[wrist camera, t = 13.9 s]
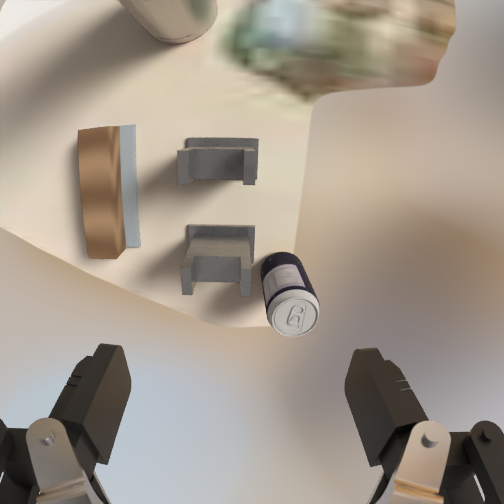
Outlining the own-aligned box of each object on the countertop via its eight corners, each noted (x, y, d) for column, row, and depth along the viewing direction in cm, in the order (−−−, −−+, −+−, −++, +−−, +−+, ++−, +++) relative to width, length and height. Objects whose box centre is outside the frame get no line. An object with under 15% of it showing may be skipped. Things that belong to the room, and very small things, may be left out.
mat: (81, 130, 33) (79, 130, 33) (135, 124, 34) (134, 124, 33) (89, 244, 39) (87, 246, 39) (140, 245, 40) (139, 247, 39)
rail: (92, 129, 33) (78, 130, 29) (120, 126, 33) (107, 126, 30) (100, 247, 39) (88, 258, 35) (126, 247, 39) (116, 259, 35)
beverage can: (255, 283, 42) (261, 335, 31) (266, 245, 40) (276, 289, 29) (294, 290, 43) (311, 343, 32) (307, 254, 41) (330, 299, 30)
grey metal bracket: (188, 137, 35) (168, 139, 25) (258, 138, 35) (265, 140, 25) (188, 177, 37) (168, 195, 27) (256, 178, 37) (263, 196, 27)
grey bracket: (188, 224, 39) (171, 257, 29) (254, 225, 39) (260, 259, 29) (190, 260, 41) (175, 303, 31) (253, 261, 41) (257, 305, 31)
